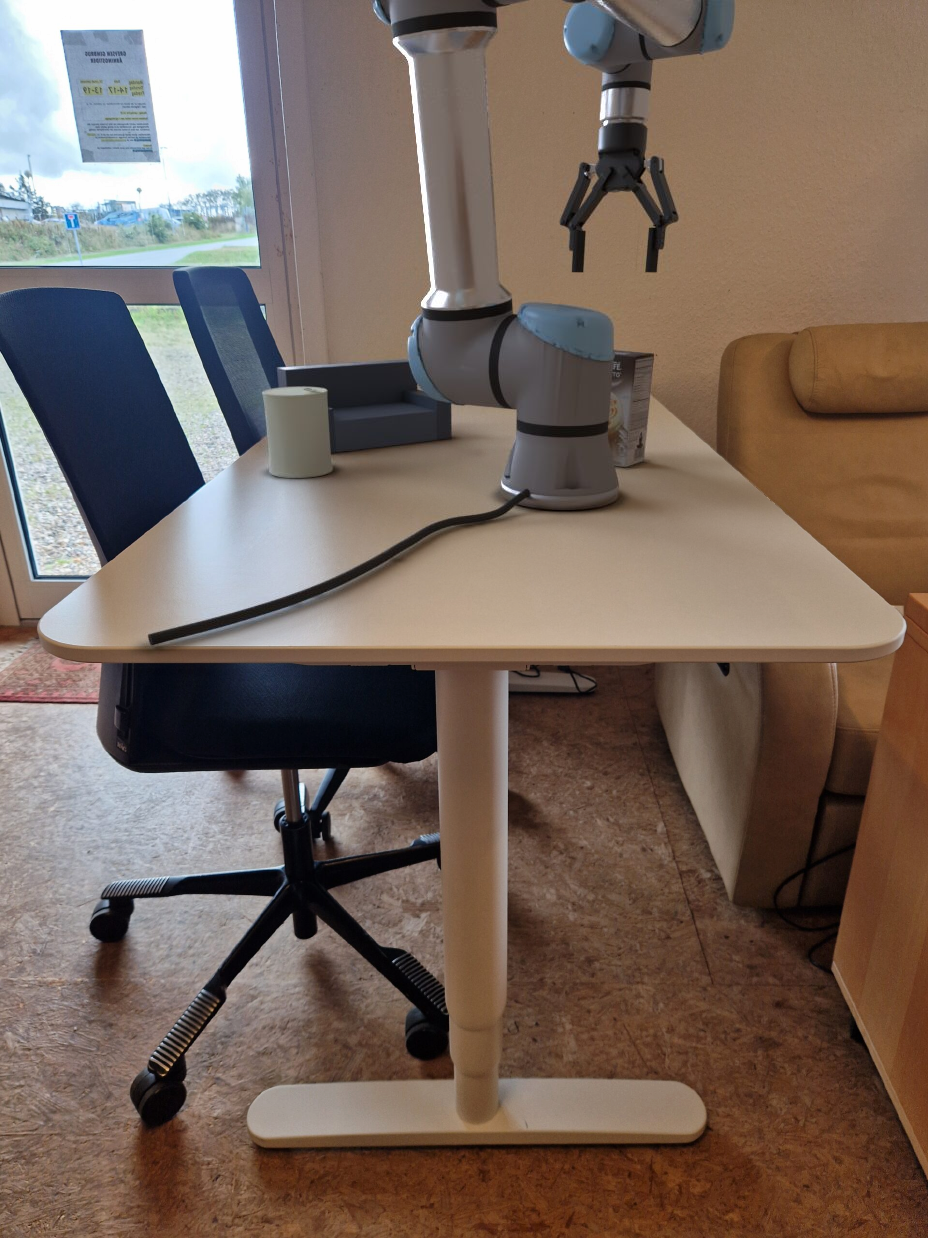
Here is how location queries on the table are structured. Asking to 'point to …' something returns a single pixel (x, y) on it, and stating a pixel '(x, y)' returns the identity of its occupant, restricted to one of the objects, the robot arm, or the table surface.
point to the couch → (373, 404)
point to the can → (298, 431)
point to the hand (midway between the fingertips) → (613, 272)
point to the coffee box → (629, 406)
